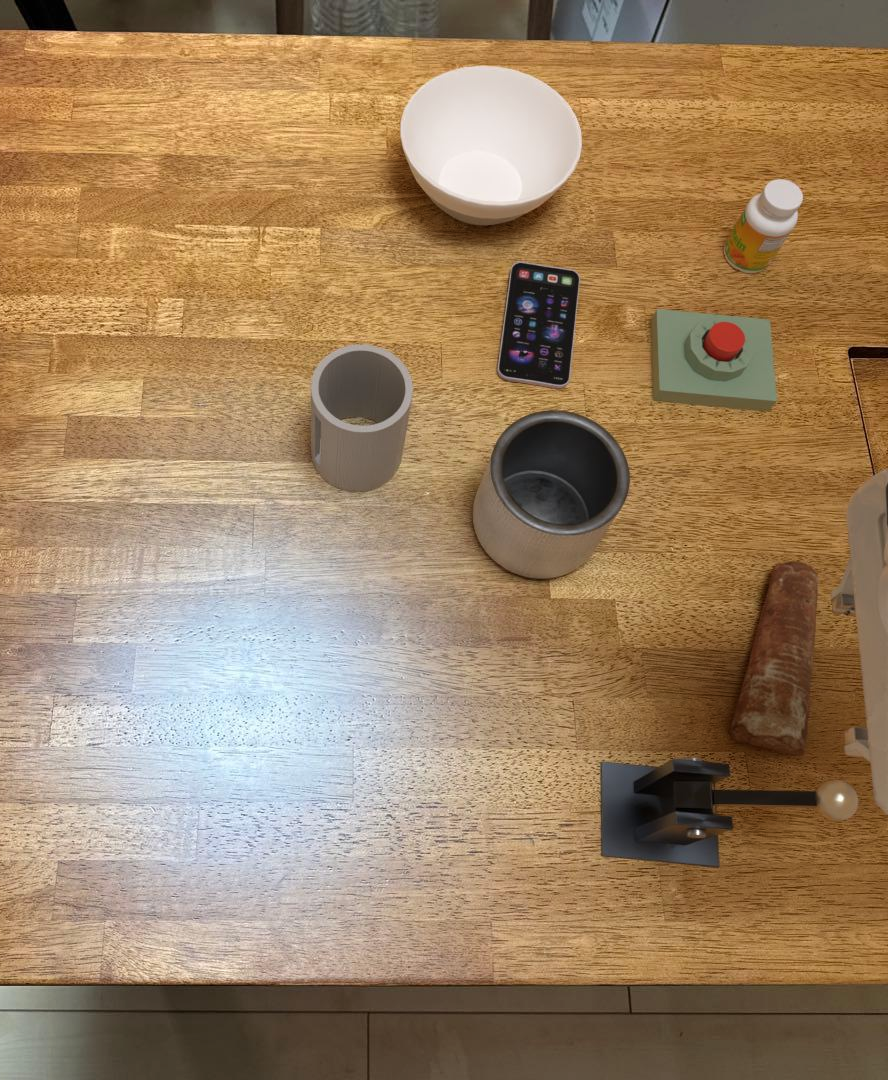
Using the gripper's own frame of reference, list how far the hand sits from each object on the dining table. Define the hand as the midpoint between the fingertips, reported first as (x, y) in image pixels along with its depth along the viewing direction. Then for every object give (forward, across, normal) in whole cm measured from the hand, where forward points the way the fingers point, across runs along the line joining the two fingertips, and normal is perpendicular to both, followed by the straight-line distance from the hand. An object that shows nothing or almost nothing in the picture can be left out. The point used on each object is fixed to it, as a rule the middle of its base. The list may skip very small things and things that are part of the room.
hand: (848, 673), depth 67 cm
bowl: (+27, +62, +23) cm, 71 cm away
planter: (+27, +21, +16) cm, 38 cm away
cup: (+27, +27, +34) cm, 51 cm away
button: (+23, +41, -2) cm, 47 cm away
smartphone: (+27, +44, +16) cm, 54 cm away
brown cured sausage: (+27, +10, -6) cm, 29 cm away
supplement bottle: (+27, +56, -7) cm, 63 cm away
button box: (+27, +41, -2) cm, 49 cm away
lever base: (+27, -6, +4) cm, 28 cm away
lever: (+16, -6, -1) cm, 17 cm away
